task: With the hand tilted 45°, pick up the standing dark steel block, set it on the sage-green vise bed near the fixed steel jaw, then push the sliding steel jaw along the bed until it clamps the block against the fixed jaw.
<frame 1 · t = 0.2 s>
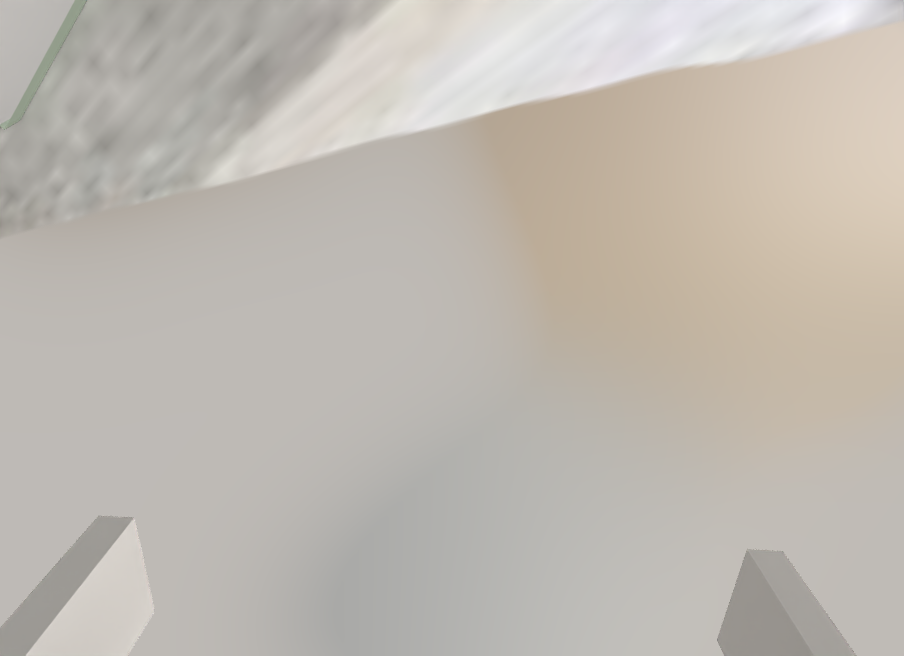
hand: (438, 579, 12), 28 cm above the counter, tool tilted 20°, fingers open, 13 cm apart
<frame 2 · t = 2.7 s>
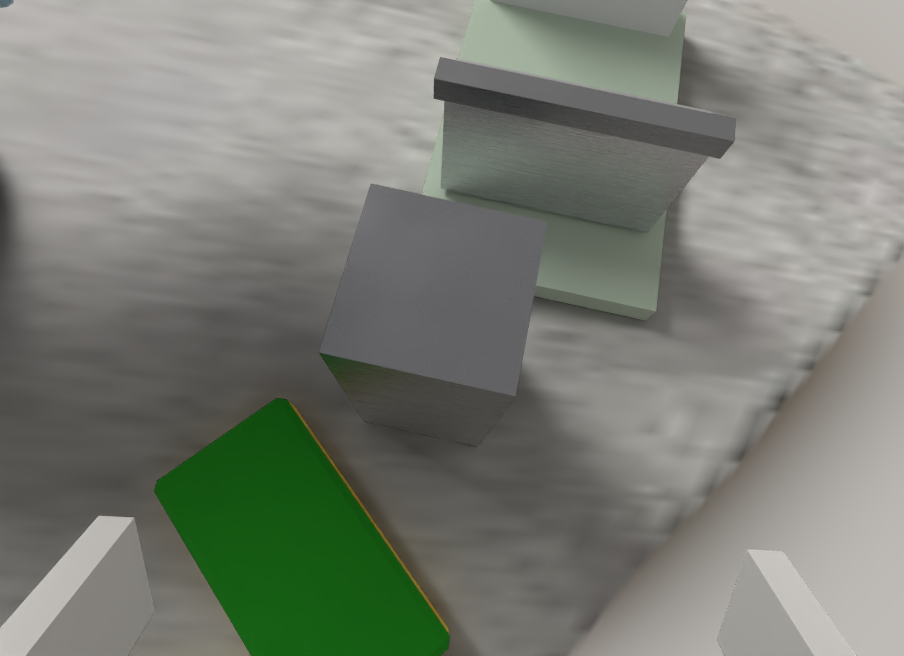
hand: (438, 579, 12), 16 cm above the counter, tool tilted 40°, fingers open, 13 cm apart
steel block: (433, 379, 30), on the counter
dish sponge: (309, 557, 27), on the counter
vise bed: (554, 138, 35), on the counter
sliding jaw: (564, 146, 28), point 6 cm above the counter, slide at 0.0 cm
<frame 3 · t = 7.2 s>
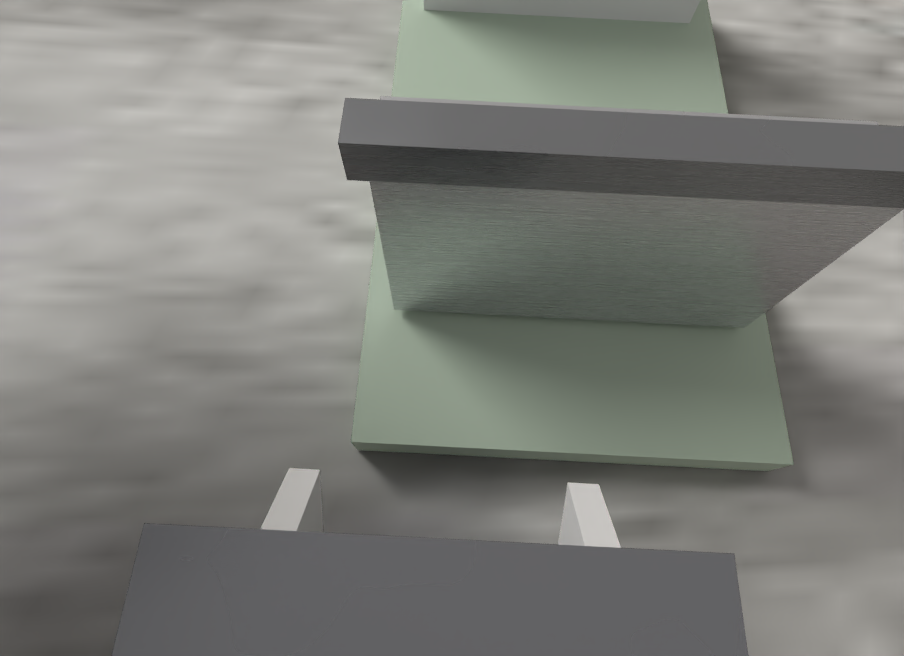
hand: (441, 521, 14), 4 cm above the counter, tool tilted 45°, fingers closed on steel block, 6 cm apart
vise bed: (554, 193, 23), on the counter
sliding jaw: (599, 220, 15), point 6 cm above the counter, slide at 0.0 cm
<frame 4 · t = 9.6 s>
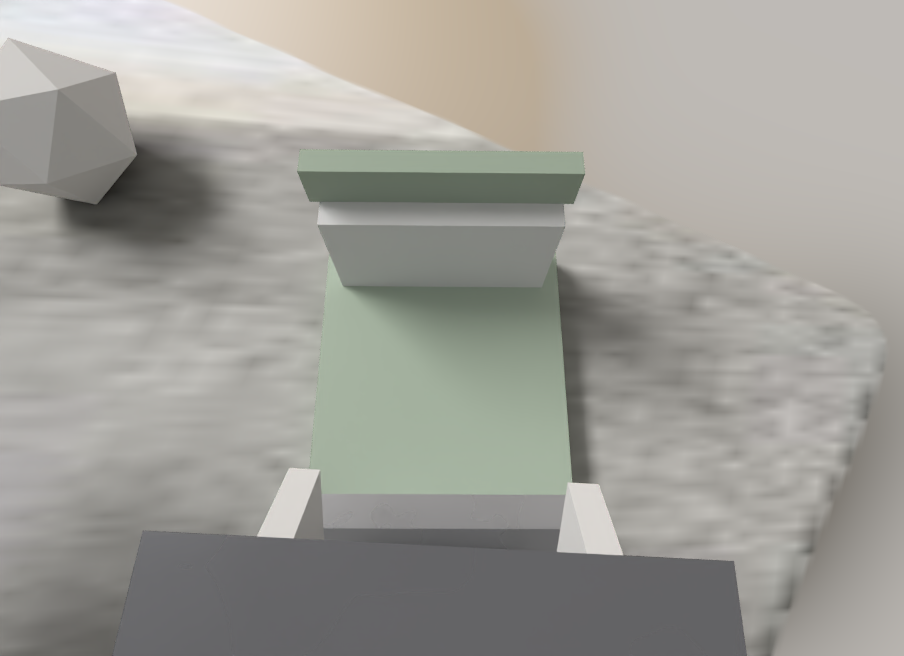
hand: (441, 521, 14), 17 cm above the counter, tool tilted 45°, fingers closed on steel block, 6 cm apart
die: (96, 169, 38), on the counter
vise bed: (441, 432, 32), on the counter
sliding jaw: (438, 528, 24), point 6 cm above the counter, slide at 0.0 cm
when the fingers open (9 cm above the counter, at t = 12.1 s): steel block drops 3 cm, resting on vise bed.
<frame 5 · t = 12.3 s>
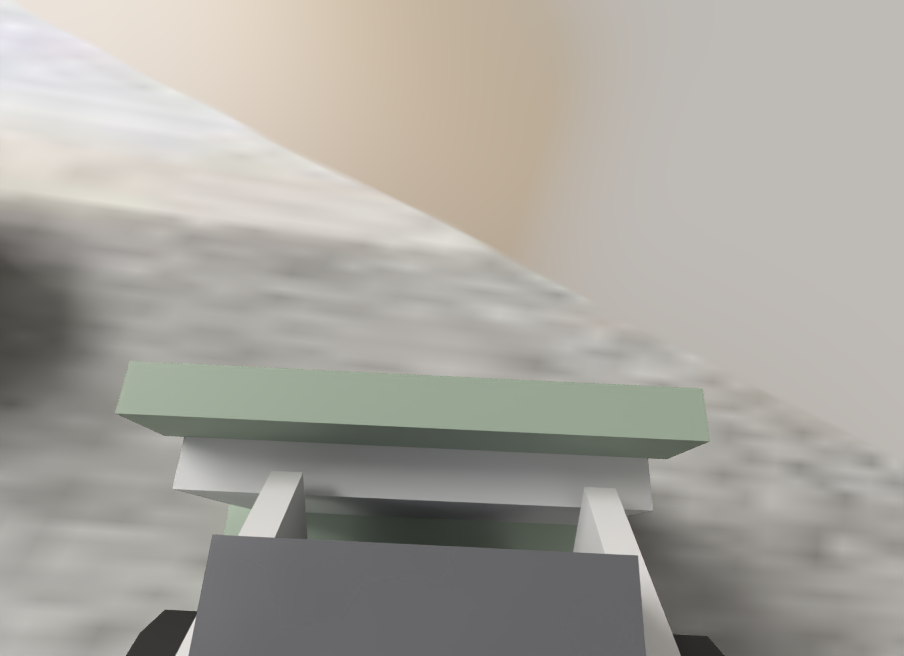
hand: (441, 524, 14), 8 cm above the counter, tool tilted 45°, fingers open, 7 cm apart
steel block: (424, 647, 19), point 2 cm above the counter, touching vise bed
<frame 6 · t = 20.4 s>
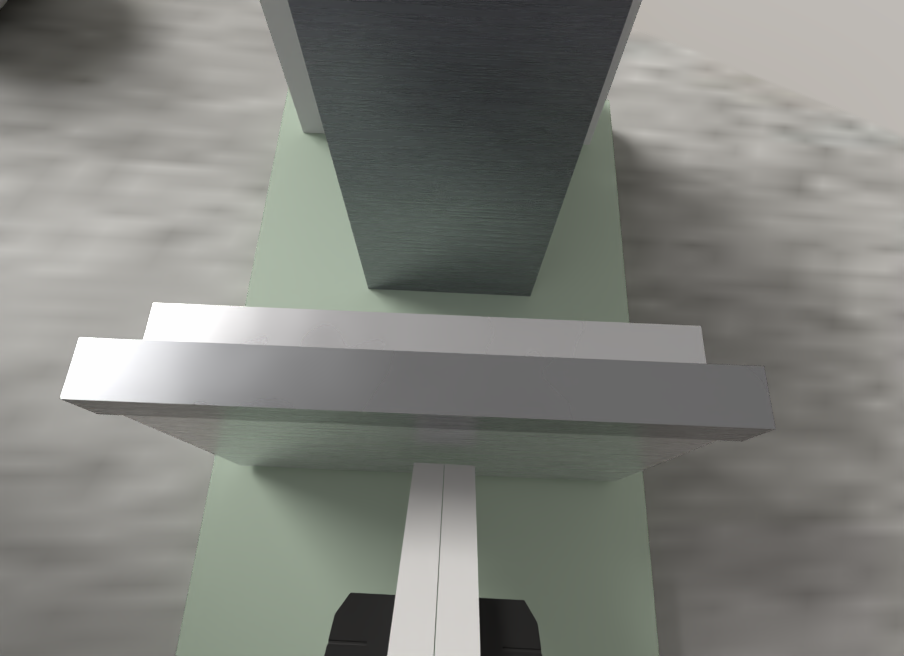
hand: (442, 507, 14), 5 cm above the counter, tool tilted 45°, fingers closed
steel block: (452, 223, 21), point 1 cm above the counter, touching vise bed
vise bed: (436, 340, 21), on the counter
sliding jaw: (427, 403, 14), point 6 cm above the counter, slide at 1.3 cm, touching gripper
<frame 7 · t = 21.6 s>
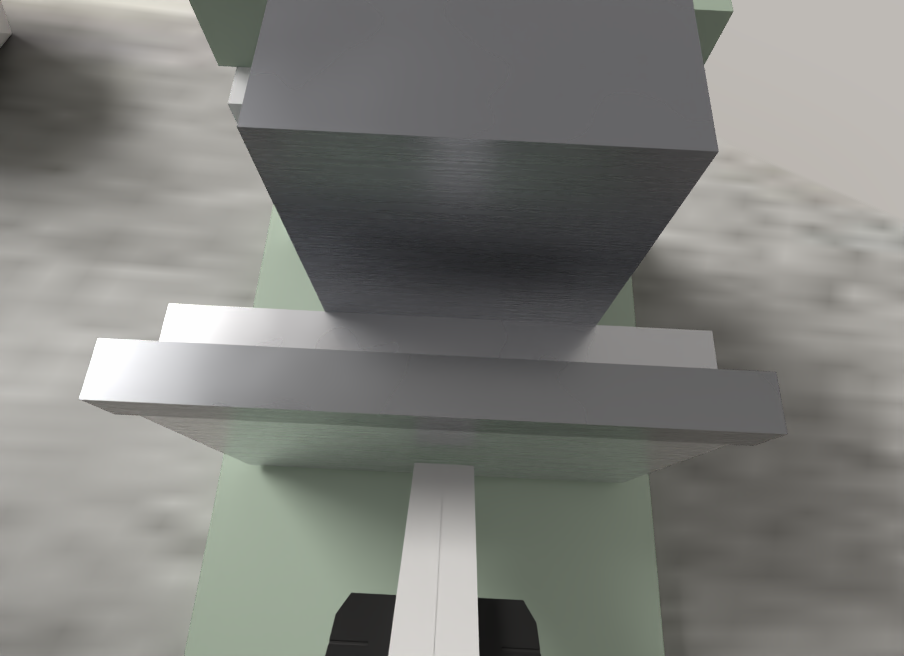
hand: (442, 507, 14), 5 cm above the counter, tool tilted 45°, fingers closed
steel block: (456, 320, 20), point 2 cm above the counter, touching sliding jaw, vise bed
vise bed: (436, 480, 19), on the counter
sliding jaw: (438, 404, 14), point 6 cm above the counter, slide at 6.5 cm, touching gripper, steel block
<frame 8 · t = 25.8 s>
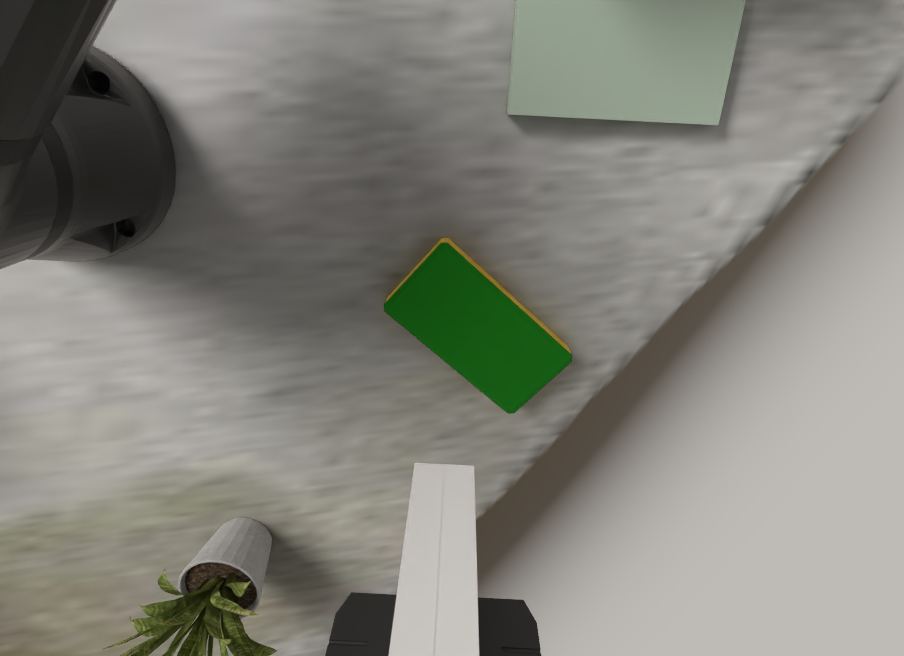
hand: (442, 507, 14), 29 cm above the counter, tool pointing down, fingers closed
dish sponge: (478, 321, 45), on the counter
house plant: (235, 542, 53), on the counter
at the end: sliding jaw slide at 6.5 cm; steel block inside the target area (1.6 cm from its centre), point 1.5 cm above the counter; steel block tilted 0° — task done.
